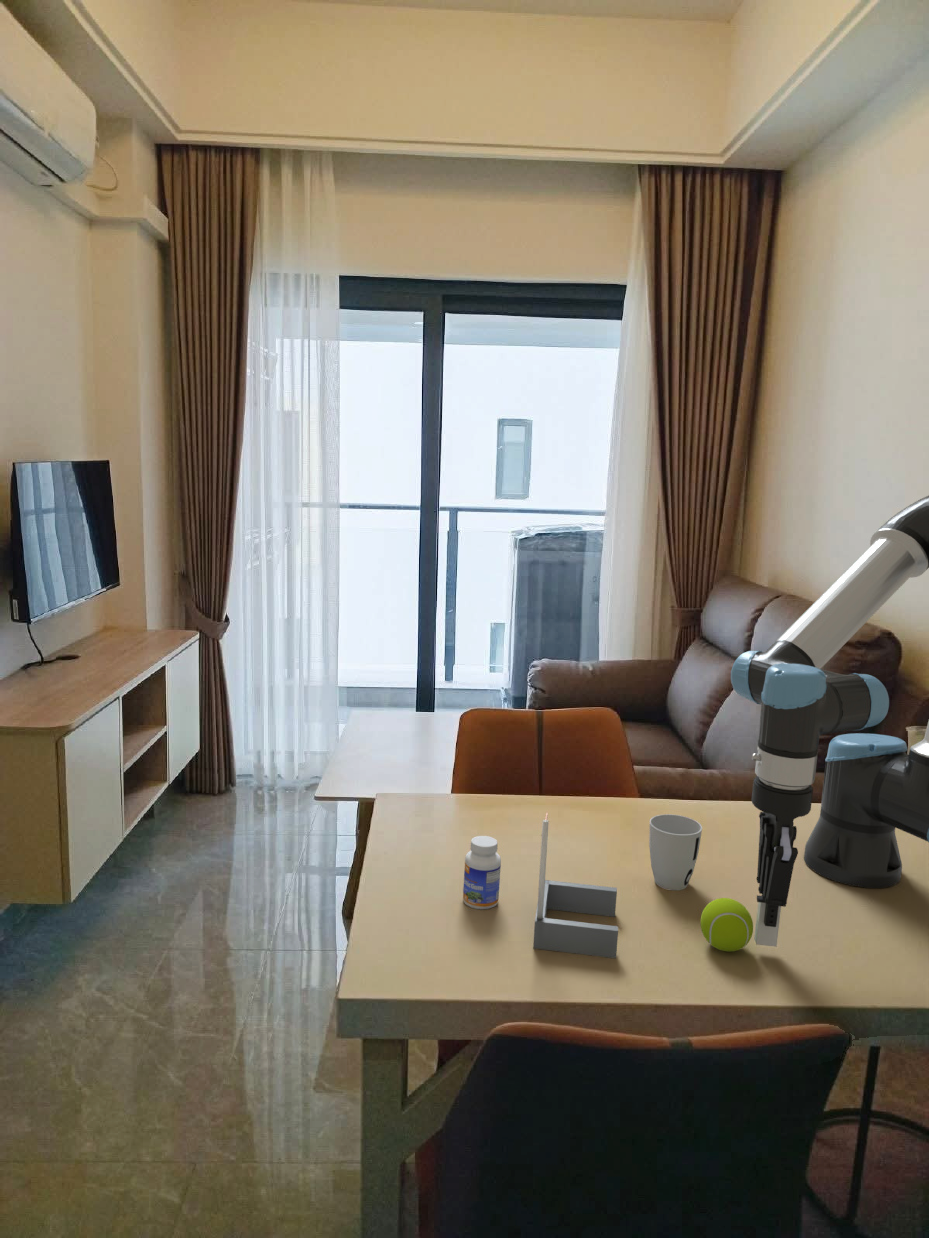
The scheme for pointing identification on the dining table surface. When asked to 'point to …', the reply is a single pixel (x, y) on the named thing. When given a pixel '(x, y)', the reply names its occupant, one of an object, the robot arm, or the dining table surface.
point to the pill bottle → (482, 873)
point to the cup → (673, 849)
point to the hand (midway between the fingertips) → (765, 942)
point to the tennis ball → (726, 924)
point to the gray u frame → (573, 900)
